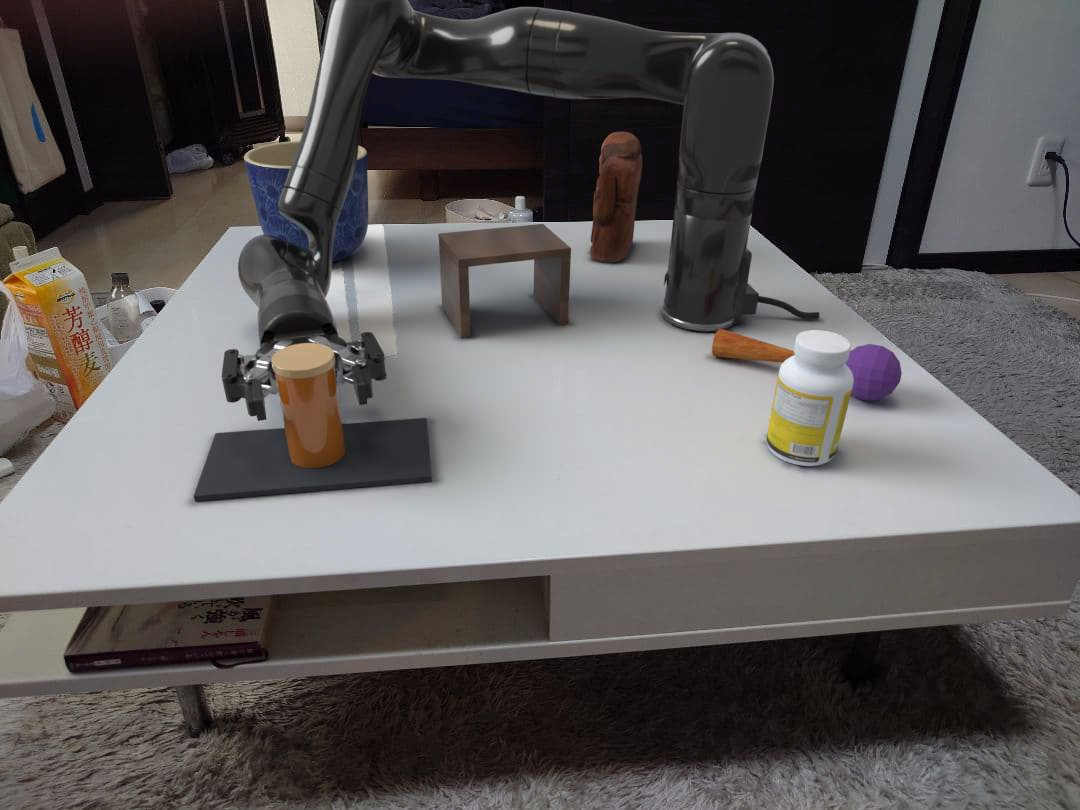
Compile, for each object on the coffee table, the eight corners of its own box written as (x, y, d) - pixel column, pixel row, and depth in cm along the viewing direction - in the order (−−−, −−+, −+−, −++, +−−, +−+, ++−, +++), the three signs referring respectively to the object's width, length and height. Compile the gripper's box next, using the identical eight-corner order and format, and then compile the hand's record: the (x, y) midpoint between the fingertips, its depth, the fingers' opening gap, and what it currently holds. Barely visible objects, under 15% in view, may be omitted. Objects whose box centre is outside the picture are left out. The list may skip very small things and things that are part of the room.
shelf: (541, 294, 106) (543, 223, 101) (568, 323, 98) (571, 247, 93) (441, 307, 102) (438, 233, 97) (461, 338, 94) (458, 259, 89)
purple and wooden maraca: (730, 313, 92) (911, 345, 82) (723, 362, 94) (899, 398, 84) (711, 321, 87) (900, 356, 77) (704, 372, 89) (888, 412, 79)
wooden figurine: (599, 238, 127) (606, 124, 118) (637, 242, 126) (647, 127, 117) (584, 262, 117) (590, 139, 108) (625, 266, 116) (635, 143, 107)
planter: (290, 283, 108) (272, 173, 100) (244, 250, 119) (225, 149, 111) (396, 258, 117) (388, 155, 109) (344, 230, 128) (333, 135, 121)
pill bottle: (821, 431, 77) (846, 325, 71) (845, 469, 71) (875, 357, 65) (756, 432, 77) (776, 325, 71) (775, 469, 71) (799, 357, 65)
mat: (426, 422, 77) (426, 417, 77) (431, 481, 69) (431, 475, 68) (216, 438, 74) (215, 432, 74) (194, 501, 66) (193, 495, 65)
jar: (348, 435, 74) (336, 341, 69) (345, 466, 69) (332, 368, 64) (291, 439, 73) (275, 344, 68) (285, 471, 68) (267, 372, 63)
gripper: (215, 301, 75) (215, 377, 62) (363, 285, 79) (392, 352, 66) (230, 369, 79) (232, 454, 66) (370, 350, 83) (398, 426, 70)
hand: (312, 403), depth 66 cm, fingers open, 8 cm apart
